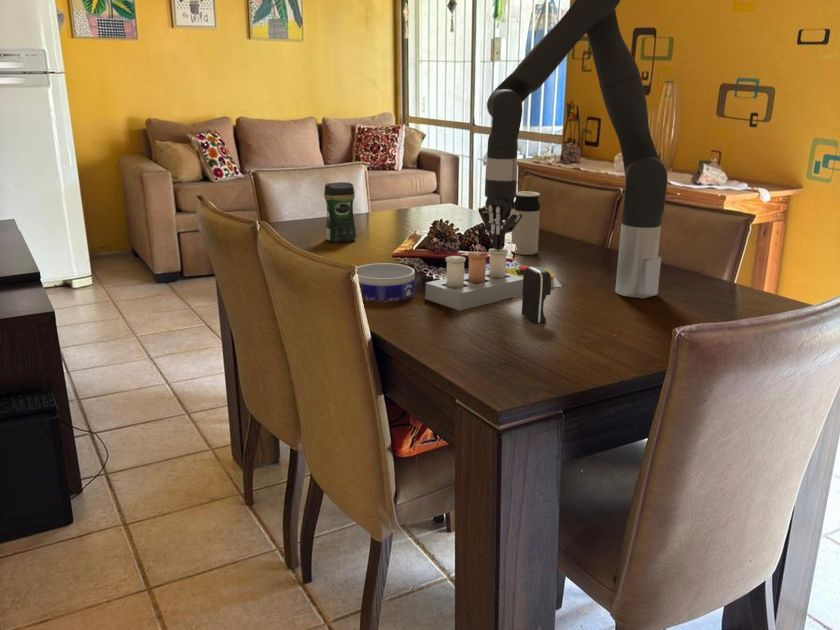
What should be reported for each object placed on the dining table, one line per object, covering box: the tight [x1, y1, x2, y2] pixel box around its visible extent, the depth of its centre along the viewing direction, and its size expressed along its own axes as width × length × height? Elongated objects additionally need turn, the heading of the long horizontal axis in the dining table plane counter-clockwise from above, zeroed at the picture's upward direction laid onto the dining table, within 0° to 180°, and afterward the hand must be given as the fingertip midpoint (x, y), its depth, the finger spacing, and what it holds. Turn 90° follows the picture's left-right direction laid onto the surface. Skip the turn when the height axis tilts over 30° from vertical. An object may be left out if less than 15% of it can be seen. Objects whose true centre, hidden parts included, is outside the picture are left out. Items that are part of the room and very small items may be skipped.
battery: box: [521, 266, 552, 324], centre depth 166 cm, size 7×4×11 cm, turn 21°
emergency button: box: [506, 266, 562, 288], centre depth 197 cm, size 9×4×15 cm
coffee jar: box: [323, 181, 357, 243], centre depth 243 cm, size 10×8×19 cm
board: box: [424, 269, 523, 311], centre depth 183 cm, size 12×22×4 cm, turn 130°
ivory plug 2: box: [488, 247, 509, 280], centre depth 186 cm, size 5×5×7 cm
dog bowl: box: [356, 262, 416, 303], centre depth 185 cm, size 15×15×6 cm
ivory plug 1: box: [445, 255, 467, 289], centre depth 178 cm, size 5×5×7 cm
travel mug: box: [511, 190, 541, 256], centre depth 228 cm, size 8×8×18 cm
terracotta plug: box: [467, 251, 488, 284], centre depth 182 cm, size 5×5×7 cm
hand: (498, 248), depth 185 cm, fingers closed
